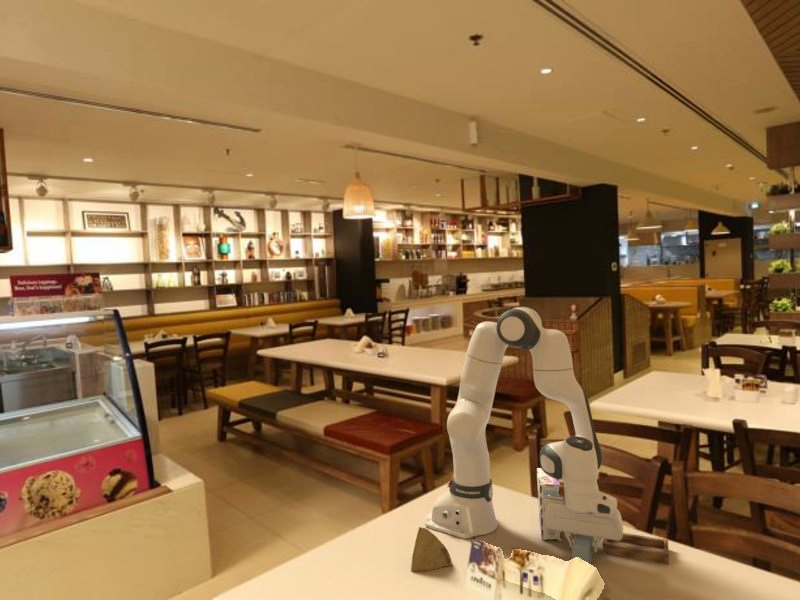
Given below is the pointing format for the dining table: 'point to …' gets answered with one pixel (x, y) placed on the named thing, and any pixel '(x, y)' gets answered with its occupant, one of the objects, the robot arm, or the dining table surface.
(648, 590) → the dining table surface
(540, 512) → the candy box
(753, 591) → the dining table surface
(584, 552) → the key block
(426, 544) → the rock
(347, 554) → the dining table surface
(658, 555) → the open wooden box
